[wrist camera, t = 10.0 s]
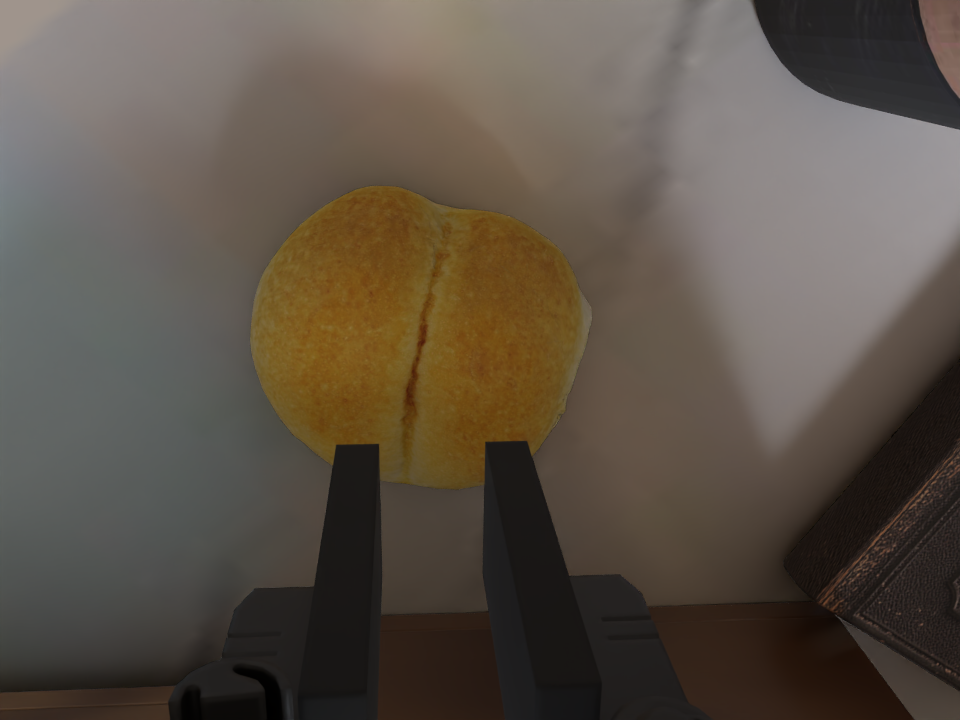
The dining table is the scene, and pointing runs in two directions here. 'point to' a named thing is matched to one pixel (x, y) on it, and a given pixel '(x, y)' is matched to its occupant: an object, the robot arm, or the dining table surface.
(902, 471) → the hardcover book
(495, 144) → the dining table surface
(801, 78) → the travel mug
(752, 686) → the cabinet
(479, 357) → the bread roll
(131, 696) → the drawer
